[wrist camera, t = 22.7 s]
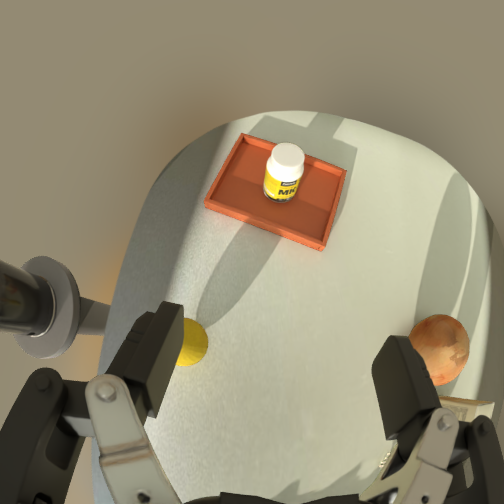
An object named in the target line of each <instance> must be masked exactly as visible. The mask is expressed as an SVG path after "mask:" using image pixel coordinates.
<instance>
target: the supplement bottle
mask: <svg viewBox="0 0 504 504" xmlns="http://www.w3.org/2000/svg"><path fill="white" fill-rule="evenodd" d="M304 159H305V156H304V152H303V151H302V149H301V148H300V147H298V146H297V145H295V144H293V143H288V142H285V143H280V144H278V145H276V146H275V147H274V148H273V150H272V153H271V156H270V157H269V159H268V161H267V165H266V171H265V178H264V184H263V190H264V193H265V195H266V196H267V197H268V198H269V199H270V200H271V201H273V202H276V203H285V202H288V201H290V200H291V199H292V198H293V197H294V195H295V193H296V191H297V188H298V185H299V183H300V180H301V177H302V174H303V171H304Z"/></svg>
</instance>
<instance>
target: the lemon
mask: <svg viewBox="0 0 504 504" xmlns="http://www.w3.org/2000/svg"><path fill="white" fill-rule="evenodd" d="M207 348H208V337H207V334H206V332H205V330H204V329H203V327H202V326H201V325H200V324H199V323H197V322H196V321H194V320H192V319H189V318H184V340H183V345H182V349H181V352H180V354H179V357H178V360H177V362H176V365H178V366H189V365H193V364H195V363H197V362H199V361H200V360H201V359H202V358H203V357H204V355H205V354H206V351H207Z"/></svg>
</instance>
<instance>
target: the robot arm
mask: <svg viewBox="0 0 504 504" xmlns="http://www.w3.org/2000/svg"><path fill="white" fill-rule="evenodd" d="M56 311H57V301H56V295H55V292H54V289H53V287H52V285H51V283H50V282H49V281H48V280H47V279H46V278H44V277H42V276H39V275H35V274H32V273H30V272H27V271H25V270H23V269H20V268H18V267H15V266H13V265H11V264H9V263H6V262H4V261H2V260H0V332H2V333H10V334H18V335H22V336H23V335H27V336H29V337H31V336H32V337H41V336H44V335H45V334H47V333H48V332H49V330H50V329H51V327H52V326H53V323H54V321H55V317H56ZM183 340H184V308H183V305H180V304H175V303H170V302H166V301H163V302H162V303H161V304H160V306H159V308H158V310H157V311H156V313H152V312H148V311H147V312H146V313H145V314H143V315H142V316H140V317H139V318H138V319H137V320H136V321H135V323H134V325H133V326H132V328H131V331H129V333H128V335H127V337H126V340H124V342H123V343H122V345H121V347H120V349H119V350H118V352H117V354H116V356H115V357H114V359H113V361H112V363H111V364H110V366H109V368H108V370H107V371H106V372H105V374H102V375H98V376H96V377H94V378H93V379H92V380H90V381H88V382H80V381H71V380H63V379H62V378H61V376H60V374H59V373H58V372H57V371H56V370H53V369H51V368H40V369H37V370H35V371H34V372H33V373H32V374H31V375H30V376H29V378H28V380H27V381H26V383H25V385H24V387H23V388H22V390H21V392H20V394H19V395H18V398H17V399H16V401H15V403H14V405H13V407H12V409H11V410H10V412H9V415H8V416H7V418H6V420H5V422H4V425H3V427H2V429H1V431H0V504H64V502H65V499H66V495H67V492H68V488H69V485H70V482H71V479H72V476H73V472H74V469H75V466H76V463H77V461H78V457H79V454H80V452H81V449H82V446H83V443H84V441H85V438H86V437H94V438H96V440H97V444H98V447H99V450H100V456H99V463H100V467H101V470H102V473H103V476H104V478H105V481H106V483H107V486H108V488H109V491H110V493H111V496H112V498H113V500H114V502H115V504H182V502H181V501H180V499H179V497H178V495H177V494H176V492H175V490H174V488H173V487H172V485H171V483H170V481H169V479H168V478H167V476H166V474H165V472H164V470H163V468H162V466H161V464H160V462H159V460H158V458H157V456H156V454H155V452H154V450H153V447H152V445H151V443H150V441H149V438H148V436H147V434H146V431H145V429H144V427H143V426H144V424H145V421H146V418H147V416H149V417H152V418H156V417H157V415H158V412H159V409H160V406H161V403H162V400H163V398H164V395H165V392H166V389H167V387H168V384H169V381H170V378H171V376H172V373H173V370H174V368H175V365H176V362H177V360H178V357H179V354H180V352H181V349H182V345H183ZM372 377H373V381H374V385H375V389H376V394H377V398H378V402H379V407H380V412H381V416H382V421H383V426H384V431H385V436H386V440H394V439H397V444H396V445H395V446H394V448H393V449H392V451H391V453H390V455H389V457H388V459H387V461H386V462H385V464H384V466H383V468H382V469H381V471H380V473H379V474H378V476H377V478H376V479H375V481H374V482H373V483H372V484H371V485H370V486H369V487H368V488H367V489H366V490H365V491H364V492H363V493H362V494H361V495H360V497H359V494H352V495H342V496H330V497H325V498H322V499H318V500H314V501H311V502H307V503H303V504H504V460H503V456H502V452H501V448H500V445H499V441H498V437H497V434H496V431H495V427H494V425H493V422H492V421H491V419H490V418H488V417H487V416H485V415H479V416H477V417H476V418H475V419H474V420H473V421H471V422H465V421H460V420H458V419H457V416H456V415H455V414H454V412H452V411H451V410H450V409H448V408H442V406H441V403H440V400H439V397H438V395H437V392H436V389H435V386H434V384H433V381H432V379H431V378H430V374H429V371H428V370H427V366H426V364H425V362H424V359H423V357H422V356H421V355H420V354H419V353H418V351H417V350H416V349H414V348H413V346H412V344H411V341H410V339H409V338H408V337H407V336H394V335H391V336H389V337H388V338H387V340H386V342H385V343H384V345H383V346H382V348H381V350H380V351H379V353H378V355H377V356H376V358H375V359H374V361H373V364H372ZM469 457H470V460H471V465H472V470H473V476H474V481H473V483H472V485H471V486H470V487H469V488H467V486H466V481H465V475H464V469H463V464H462V462H463V461H464V460H466V459H467V458H469ZM184 504H284V503H280V502H276V501H272V500H269V499H265V498H262V497H258V496H251V495H241V494H233V493H226V492H220V496H211V497H204V498H199V499H195V500H192V501H189V502H186V503H184Z"/></svg>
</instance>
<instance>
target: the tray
mask: <svg viewBox="0 0 504 504" xmlns="http://www.w3.org/2000/svg"><path fill="white" fill-rule="evenodd" d="M276 145H278V144H275V143H272V142H269V141H266V140H263V139H260V138H257V137H253V136H250V135H247V134H244V133H241V135H240V136H239V138H238V140H237V141H236V143H235V145H234V147H233V148H232V150H231V152H230V154H229V155H228V157H227V159H226V161H225V162H224V164H223V166H222V168H221V170H220V171H219V173H218V175H217V177H216V179H215V181H214V182H213V184H212V186H211V188H210V190H209V192H208V194H207V196H206V197H205V199H204V204H205V207H206V208H208V209H211V210H214V211H216V212H219V213H222V214H225V215H227V216H230V217H233V218H235V219H238V220H241V221H244V222H246V223H249V224H252V225H254V226H257V227H259V228H262V229H265V230H267V231H270V232H273V233H275V234H278V235H280V236H283V237H286V238H288V239H291V240H293V241H296V242H298V243H301V244H303V245H306V246H309V247H311V248H314V249H316V250H319V251H322V250H323V249H324V248H325V246H326V243H327V240H328V237H329V233H330V230H331V227H332V223H333V220H334V216H335V213H336V209H337V206H338V202H339V198H340V195H341V191H342V187H343V184H344V180H345V176H346V172H347V170H344V169H342V168H339V167H337V166H335V165H332V164H330V163H327V162H325V161H322V160H320V159H317V158H314V157H312V156H309V155H306V154H304V156H305V159H304V171H303V174H302V177H301V180H300V183H299V185H298V188H297V191H296V193H295V195H294V197H293V198H292V199H291V200H290V201H288V202H285V203H276V202H273V201H271V200H270V199H269V198H268V197H267V196H266V195H265V193H264V190H263V184H264V178H265V171H266V165H267V161H268V159H269V157H270V156H271V153H272V150H273V148H274V147H275V146H276Z"/></svg>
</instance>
